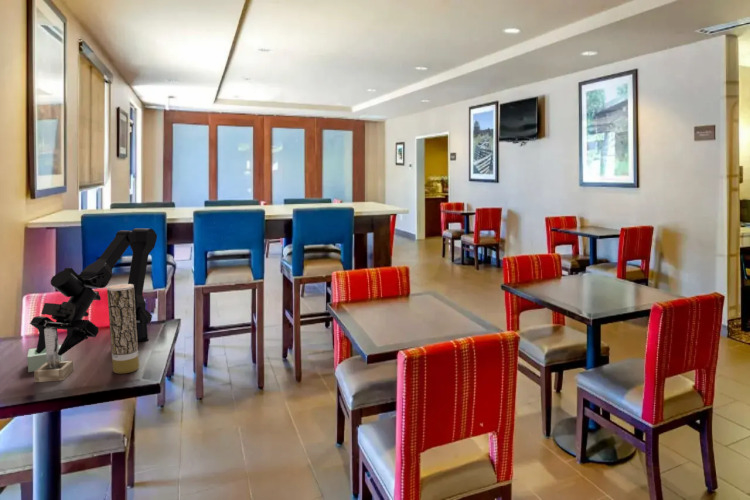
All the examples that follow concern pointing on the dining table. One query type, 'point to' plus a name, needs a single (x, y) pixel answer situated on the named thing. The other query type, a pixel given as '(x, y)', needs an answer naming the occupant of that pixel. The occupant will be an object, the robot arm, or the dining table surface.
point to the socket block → (37, 359)
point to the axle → (52, 348)
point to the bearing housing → (53, 372)
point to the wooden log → (123, 328)
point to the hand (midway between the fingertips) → (48, 353)
